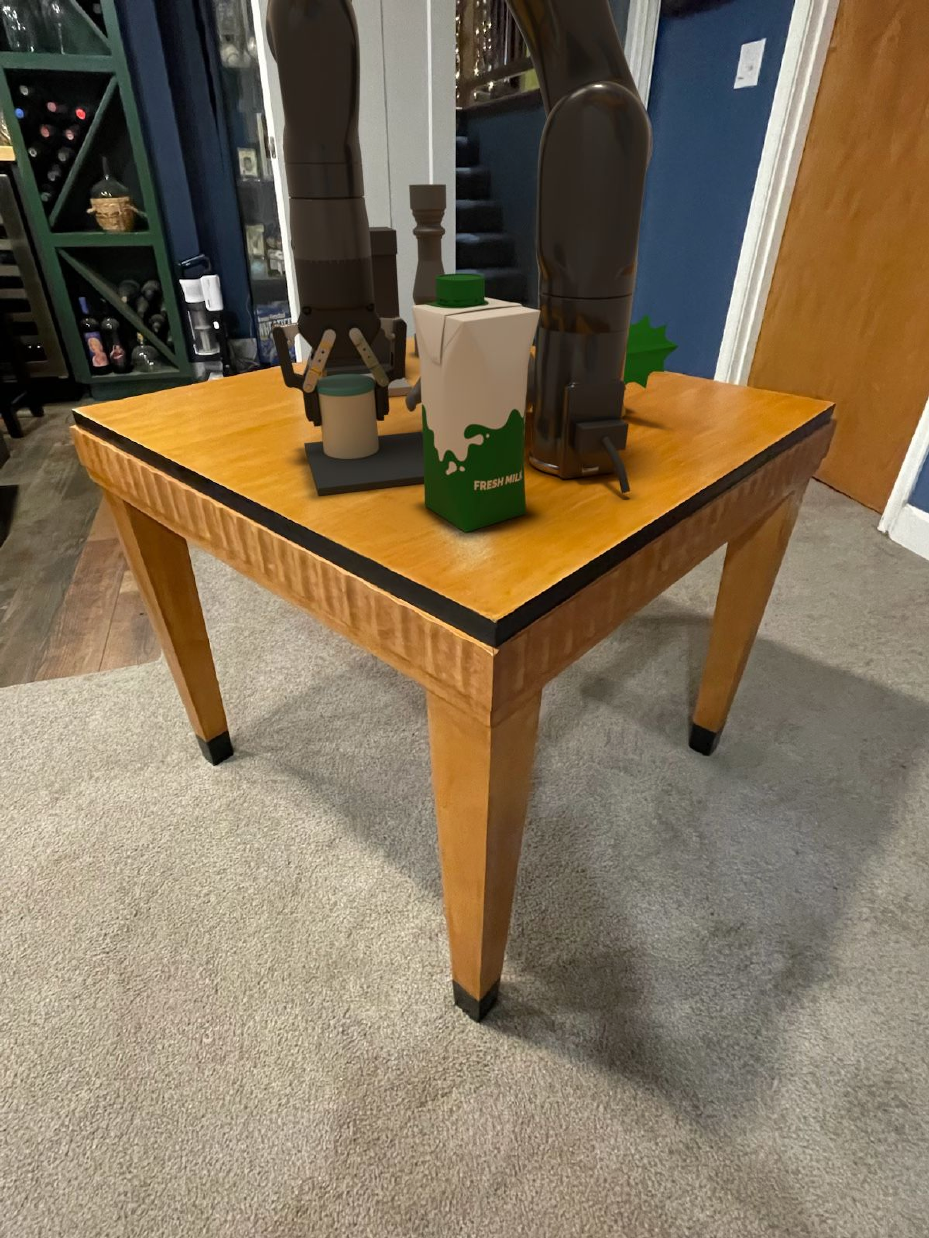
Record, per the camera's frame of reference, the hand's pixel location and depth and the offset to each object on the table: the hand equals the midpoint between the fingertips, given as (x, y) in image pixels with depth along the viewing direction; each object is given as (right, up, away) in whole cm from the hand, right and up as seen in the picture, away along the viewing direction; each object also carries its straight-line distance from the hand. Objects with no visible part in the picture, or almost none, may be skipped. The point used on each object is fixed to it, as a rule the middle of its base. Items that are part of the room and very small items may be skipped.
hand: (348, 421), depth 76 cm
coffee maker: (-2, +14, +28) cm, 31 cm away
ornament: (+31, +6, +16) cm, 35 cm away
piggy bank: (+16, +3, +12) cm, 21 cm away
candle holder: (+7, +24, +44) cm, 51 cm away
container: (0, -3, +2) cm, 3 cm away
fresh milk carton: (+14, -12, -10) cm, 21 cm away
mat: (+3, -5, 0) cm, 6 cm away
